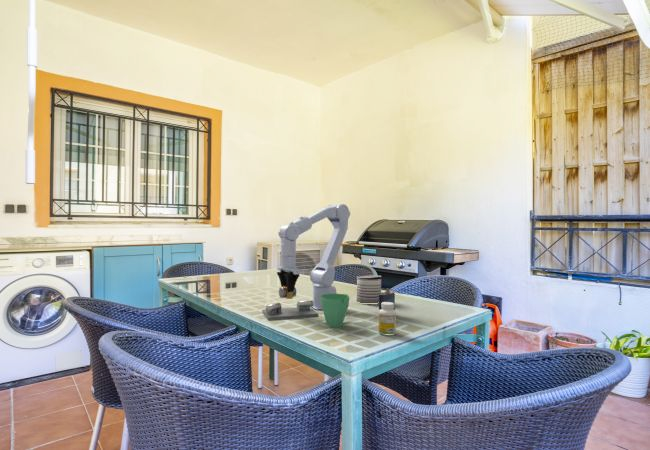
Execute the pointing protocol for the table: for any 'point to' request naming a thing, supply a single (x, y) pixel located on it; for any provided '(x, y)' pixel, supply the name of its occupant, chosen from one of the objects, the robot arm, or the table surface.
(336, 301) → the green cup
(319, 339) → the table surface
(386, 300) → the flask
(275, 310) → the shaft
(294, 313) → the base board
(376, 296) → the can
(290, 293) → the coupler
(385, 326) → the supplement bottle
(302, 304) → the shaft
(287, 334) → the table surface
